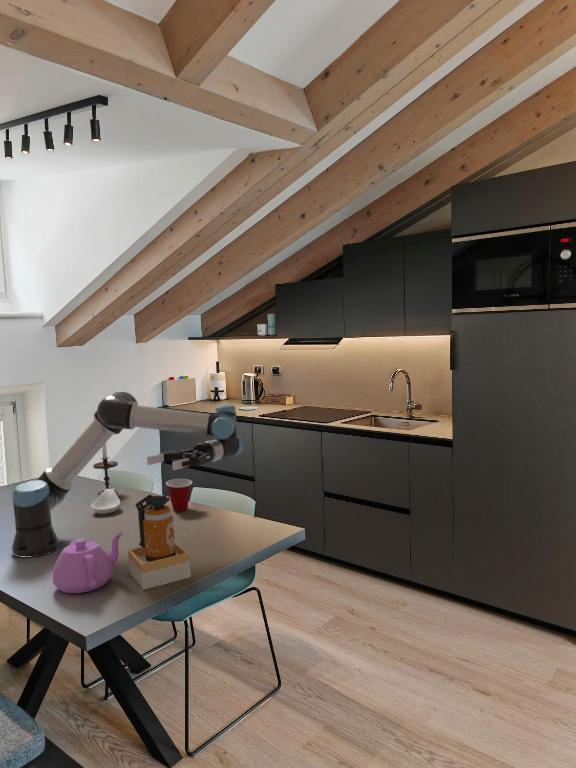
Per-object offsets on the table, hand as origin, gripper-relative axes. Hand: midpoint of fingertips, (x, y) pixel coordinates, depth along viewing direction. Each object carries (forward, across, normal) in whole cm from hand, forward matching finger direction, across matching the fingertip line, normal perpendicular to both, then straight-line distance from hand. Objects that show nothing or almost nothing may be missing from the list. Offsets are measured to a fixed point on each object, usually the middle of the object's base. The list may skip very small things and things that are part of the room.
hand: (160, 463), depth 201 cm
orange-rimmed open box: (+13, -14, -30) cm, 36 cm away
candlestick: (-32, +83, -31) cm, 94 cm away
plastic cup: (-34, +33, -31) cm, 57 cm away
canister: (+13, -14, -26) cm, 32 cm away
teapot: (+28, -1, -31) cm, 42 cm away
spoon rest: (-19, +63, -31) cm, 73 cm away
